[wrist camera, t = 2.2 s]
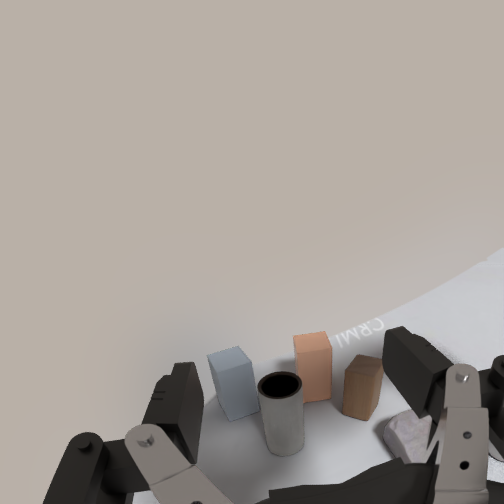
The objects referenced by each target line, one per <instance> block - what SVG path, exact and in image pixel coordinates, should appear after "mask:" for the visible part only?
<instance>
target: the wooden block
mask: <svg viewBox="0 0 504 504" xmlns="http://www.w3.org/2000/svg"><path fill="white" fill-rule="evenodd" d="M383 371H384V370H383V366H382V359H379V358H374V357H369V356H364V355H360V354H359V355H356V357H355V358H354V359H353V361H352V362H351V363H350V365H349V366H348V367H347V369H346V370H345V380H344V395H343V407H342V414H344V415H347V416H350V417H353V418H357V419H360V420H364V421H368V420H369V418H370V417H371V415H372V413H373V412H374V410H375V408H376V406H377V405H378V401H379V396H380V390H381V384H382V378H383Z"/></svg>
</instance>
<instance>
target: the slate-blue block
mask: <svg viewBox="0 0 504 504" xmlns="http://www.w3.org/2000/svg"><path fill="white" fill-rule="evenodd" d="M207 357H208V362H209V366H210V370H211V374H212V377H213V381H214V384H215V389H216V392H217V396H218V400H219V403H220V405H221V407H222V409H223V411H224V412H225V414H226V416H227V418H228V420H229V421H230V422H231V421H234V420H237V419H239V418H242V417H245V416H248V415H250V414H253V413H256V412H258V411H260V409H259V403H258V397H257V392H256V386H255V380H254V374H253V368H252V362H251V360H250V359H249V358H248V357H247V356H246V354H245V353H244V352H243V351H242V350H241V348H240V347H239V346H236V347H233V348H230V349H227V350H223V351H220V352H216V353H213V354H210V355H207Z"/></svg>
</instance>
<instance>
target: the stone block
mask: <svg viewBox="0 0 504 504" xmlns="http://www.w3.org/2000/svg"><path fill="white" fill-rule="evenodd" d="M430 421H431V416H430V415H428V416H426V417H424V418H422V419H419V418H418V417H417V415H416V414H415V413H414V411H413V410H412V409H411V410H408V411H405V412H402V413H400V414H398V415H396V416H394V417H393V418H392V419H391V420H390V421H389V422H388V424H387V425H386V426H385V428H384V434H383V439H384V441H385V443H386V444H387V446H388V447H389V449H390V450H391V452H392V453H393V454H394V456H395V457H396V458H398V457H401V459H402V460H403V462H404V464H406V463H421V460H422V457H423V453H424V449H425V444H426V440H427V435H428V430H429V424H430Z"/></svg>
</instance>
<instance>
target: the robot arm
mask: <svg viewBox="0 0 504 504" xmlns="http://www.w3.org/2000/svg"><path fill="white" fill-rule="evenodd" d="M382 366H383V370H384V372H385V374H386V375H387V376H388V378H389V379H390V380H391V382H392V383H393V384H394V386H395V387H396V388H397V390H398V391H399V392H400V394H401V395H402V396H403V398H404V399H405V400H406V402H407V403H408V404H409V406H410V407H411V408H412V410H413V411H414V413H415V414H416V415H417V417H418V418H419V419H422V418H424V417H426V416H428V415H430V416H431V421H430V424H429V430H428V435H427V440H426V444H425V449H424V453H423V457H422V460H421V463H406V464H404V462H403V460H402V459H401V457H398V458H396V459H393V460H391V461H388V462H385V463H382V464H380V465H377V466H374V467H371V468H369V469H368V470H366V471H364V472H362V473H360V474H359V475H357V476H355V477H353V478H351V479H349V480H347V481H345V482H343V483H340V484H329V485H300V486H295V487H289V488H282V489H275V490H269V498H268V499H265V500H262V501H260V502H258V503H255V504H504V483H500V482H495V481H490V480H487V469H488V452H489V453H490V454H491V455H492V456H493V457H494V458H496V459H497V460H500V461H503V462H504V355H501V356H498V357H496V358H495V359H494V361H493V364H492V367H491V369H486V370H482V371H477V370H476V369H475V368H474V367H473V366H471V365H468V364H456V365H454V364H453V363H452V362H451V361H450V360H449V359H447V358H446V357H445V356H444V355H443V354H442V353H441V352H440V351H438V350H436V348H435V347H434V346H433V345H431V343H429V342H428V341H427V340H426V339H425V338H423V337H421V336H418V335H416V334H412V333H410V332H409V331H408V330H407V329H406V328H405V327H403V326H400V327H397V328H393V329H390V330H387V331H386V332H385V337H384V347H383V356H382ZM203 407H204V396H203V391H202V388H201V384H200V380H199V377H198V373H197V370H196V366H195V364H194V362H184V363H175V364H174V367H173V370H172V373H171V375H164V376H163V377H162V378H161V379H160V380H159V381H158V382H157V383H156V386H155V389H154V393H153V394H152V397H151V400H150V402H149V405H148V408H147V410H146V413H145V416H144V418H143V421H142V424H141V425H139V426H136V427H134V428H132V429H131V430H130V431H129V432H128V433H127V434H126V436H125V439H121V440H115V441H108V442H103V440H102V439H101V438H100V436H98V435H97V434H95V433H91V432H85V433H81V434H78V435H76V436H75V437H74V438H72V439H71V441H70V442H69V444H68V446H67V448H66V450H65V453H64V455H63V457H62V459H61V461H60V464H59V466H58V468H57V470H56V473H55V475H54V477H53V480H52V482H51V484H50V487H49V489H48V492H47V494H46V496H45V499H44V501H43V504H132V502H133V496H134V492H141V491H148V490H151V491H152V492H153V494H154V495H155V497H156V498H157V500H158V501H159V502H160V504H234V503H233V502H232V501H231V500H229V499H228V498H227V497H226V496H225V495H224V494H223V493H222V492H221V491H220V490H219V489H218V488H217V487H216V486H215V485H214V484H213V483H212V482H211V481H210V480H209V479H208V478H207V477H206V476H205V475H204V474H203V473H202V472H201V470H200V469H199V468H198V467H197V466H195V465H191V464H196V463H197V455H198V446H199V438H200V430H201V422H202V414H203Z"/></svg>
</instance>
